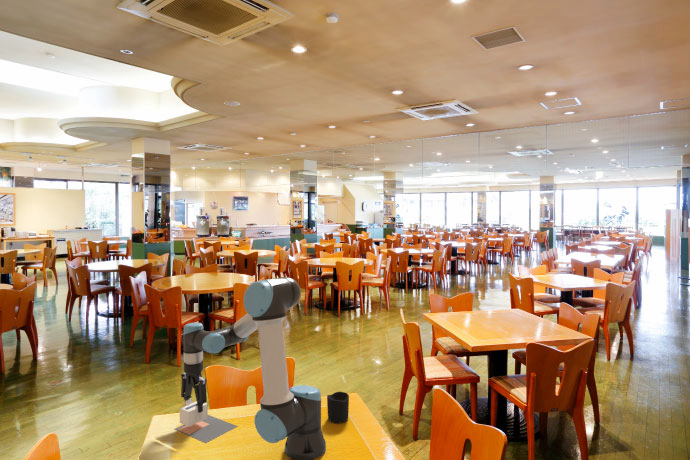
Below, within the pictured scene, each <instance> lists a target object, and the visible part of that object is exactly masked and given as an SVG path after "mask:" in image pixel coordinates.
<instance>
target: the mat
mask: <svg viewBox="0 0 690 460" xmlns="http://www.w3.org/2000/svg"><path fill="white" fill-rule="evenodd" d="M238 427H239V426H238V425H235V424H233V423H230V422H228V421H226V420H223V419H221V418H218V417H215V416H212V415H210V414H208V418H207V419H205V420H203V421H200V422H198V423H196V424H194V425H192V426H190V427H188V426H186V425H184V424H181V425H180V426H177V427H176V428H174V430H175V431H176V432H177V431H178V432H180V433H182V434H184V435H187V437H191V438H192V439H196V440H197V441H199V442H202V443H204V444H207V443H210V442H211V441H213V440H215V439H217V438H218V437H220V436H223V435H225V434H227V433H228V432H231V431H232V430H234V429H236V428H238Z"/></svg>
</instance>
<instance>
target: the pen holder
mask: <svg viewBox="0 0 690 460" xmlns="http://www.w3.org/2000/svg"><path fill="white" fill-rule="evenodd" d="M349 395H350V394H348V393H347V392H344V391H336V392H334V393H332V394H328V395H326V405H327V419H328V421H329V422H330V423H332V424H344V423H345V422H347V421H348V419H349V407H350V406H349V404H350V402H349V401H350V396H349Z"/></svg>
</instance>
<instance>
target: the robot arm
mask: <svg viewBox="0 0 690 460" xmlns="http://www.w3.org/2000/svg"><path fill="white" fill-rule="evenodd" d="M301 298H302V289H301V286H300V285H299V283H298V282H297V281H296V280H295V279H294V278H291V277H288V276H282V277H275V278H269V279H261V280H258V281H255V282H252V283H251V284H249V285H248V286H247V288H246V289H245V291H244V294H243V306H244V310H245V311H246V314H245V315H244V316H242V317H240V318H239V319H238V320H237V321H236V322H234V323H233V324H231V325H230V326H227V327H226V326H225V327H223V328H219V329H215V330H212V331H208V330H207V331H206V330H205V329H204V325H203V324H202V323H201V322H190V323H187V324H185V325H183V334H182V335H183V337H182V338H183V362H184V363H183V373H181V374H180V377H181V385H180V386H181V388H180V389H181V390H180V393H181V394H180V395H181V396H180V398H183V400H184V406H186V405H188V404H191V403H193V396H192V393H193V390H194V396H195V400H196V401H197V404H195V405H196V421H198V420H200V419H202V412H203V404H204V403H207V401H208V400H207V396H208V395H207V382H208V381H207V378H203V375H202V372H203V370H204V361H203V360H204V352H206V353H210V354H219V353H220V352H221V351H222V350H223V349H224V348H226V347H229V346H232V345H237V344H241V343H243V342H245V341H247V340H248V339H249V337H250V335H251V334H252V333H254V332H255V331H257V335H258V345H259V346H258V347H259V354H260V365H261V376H262V386H263V388H262V389H263V396H262V397H261V398H260V400H259V404H260V405H259V406H260V409H259V410H258V411H257V412H256V414H255V415H254V426H255V429H256V432H257V433H258V435H259V436H260V437H261V438H262V439H263V440H264V441H265V442H267V443H269V444H276V443H278V442H281V441H282V440H285V439H286V440H285V443H284V452H285V453H284V454H285V456H286V457H288V458H289V459H291V460H316V459H318V458H321V457H322V456H323V455H324V454H325V453H326V451H327V444H326V443H327V442H326V439H325V437H324V434H323V431H322V393H321V391H320V389H319V388H317V387H315V386H312V385H305V384H303V385H302V384H300V385H295V386H294V385H293V386H291V387H290V386H289V377H288V366H287V355H286V346H285V344H286V343H285V334H284V325H283V322H284V321H285V319H286V318H287V312H288V311H289V310H291V309H292V308H293V307H295V306H297V304H298V303H299V302H300V300H301ZM196 401H195V402H196Z"/></svg>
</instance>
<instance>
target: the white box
mask: <svg viewBox="0 0 690 460" xmlns="http://www.w3.org/2000/svg"><path fill="white" fill-rule="evenodd" d="M195 404H197V401H194V402H193V401H192V403H191V404H188V405H186V406H185V405H184V406H182V407H179V423H180V424H181V425H186V426H188V427H190V426H192V425H194V424H196V423H198V422H200V421H203V420H205V419H207V418H208V415H209V414H208V413H209V412H208V411H209V410H208V407H209V406H208V405H209V403H207V402H206V403H204V404H203V412H202V419H200V420H198V421H196V405H195Z"/></svg>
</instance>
